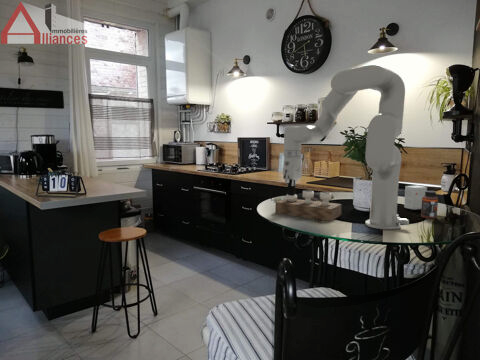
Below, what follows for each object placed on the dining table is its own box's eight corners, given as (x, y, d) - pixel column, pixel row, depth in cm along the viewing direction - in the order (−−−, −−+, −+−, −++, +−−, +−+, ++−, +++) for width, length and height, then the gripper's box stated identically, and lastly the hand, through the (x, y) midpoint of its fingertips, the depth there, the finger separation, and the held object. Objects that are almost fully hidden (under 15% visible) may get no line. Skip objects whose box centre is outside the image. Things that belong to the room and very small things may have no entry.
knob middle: (315, 205, 155) (315, 190, 154) (310, 207, 151) (311, 192, 150) (305, 204, 158) (305, 189, 157) (300, 206, 154) (300, 191, 153)
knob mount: (341, 215, 152) (341, 204, 152) (331, 221, 143) (331, 209, 142) (287, 208, 167) (287, 198, 166) (275, 212, 157) (275, 202, 157)
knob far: (298, 208, 160) (298, 194, 159) (293, 210, 156) (294, 195, 155) (289, 207, 162) (289, 193, 162) (284, 209, 159) (284, 194, 158)
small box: (416, 206, 171) (418, 185, 170) (426, 208, 166) (427, 186, 165) (403, 207, 169) (404, 185, 167) (412, 209, 163) (414, 187, 162)
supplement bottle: (436, 220, 144) (438, 192, 143) (420, 218, 147) (422, 191, 146) (437, 217, 149) (438, 190, 148) (421, 215, 152) (423, 189, 151)
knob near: (332, 207, 150) (333, 192, 150) (328, 209, 146) (329, 193, 146) (322, 206, 153) (322, 191, 152) (317, 208, 149) (318, 192, 148)
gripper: (292, 155, 148) (291, 197, 150) (307, 153, 160) (305, 193, 162) (276, 154, 152) (275, 196, 154) (292, 153, 164) (291, 191, 167)
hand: (291, 194), depth 158 cm, fingers closed
